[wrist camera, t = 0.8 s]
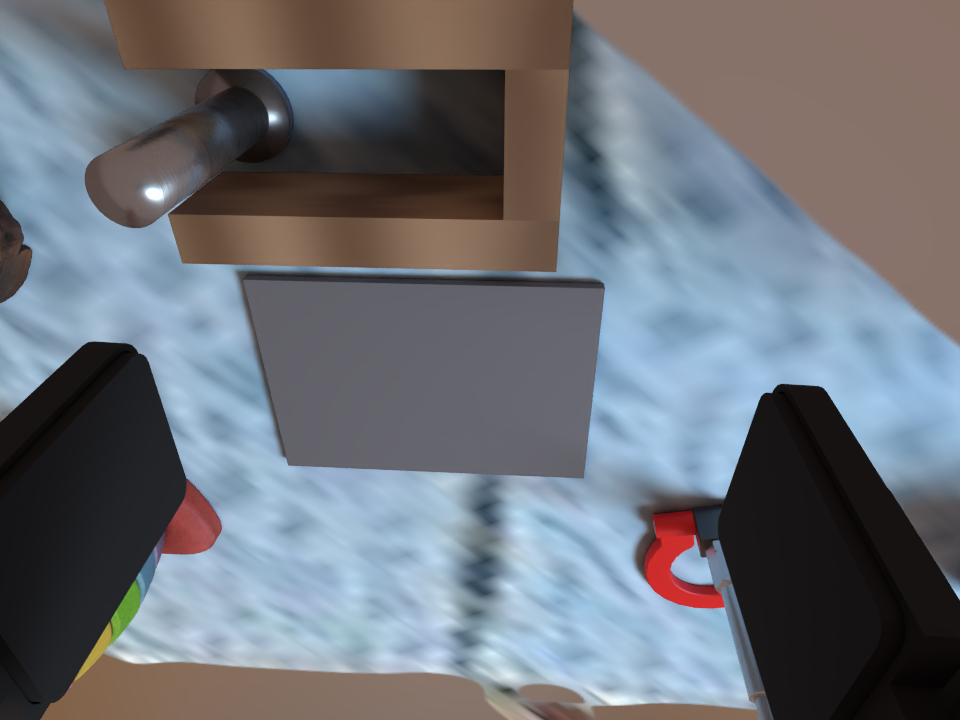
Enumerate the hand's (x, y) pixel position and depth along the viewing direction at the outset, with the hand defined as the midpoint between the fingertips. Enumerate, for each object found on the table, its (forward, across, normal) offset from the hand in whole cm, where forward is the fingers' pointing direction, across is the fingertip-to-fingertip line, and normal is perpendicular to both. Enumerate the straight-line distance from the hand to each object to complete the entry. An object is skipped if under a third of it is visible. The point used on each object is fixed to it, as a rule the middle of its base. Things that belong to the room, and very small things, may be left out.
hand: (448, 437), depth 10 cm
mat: (+19, +3, +13) cm, 24 cm away
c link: (+19, +5, 0) cm, 20 cm away
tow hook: (+20, -14, +25) cm, 35 cm away
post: (+19, +10, 0) cm, 22 cm away
